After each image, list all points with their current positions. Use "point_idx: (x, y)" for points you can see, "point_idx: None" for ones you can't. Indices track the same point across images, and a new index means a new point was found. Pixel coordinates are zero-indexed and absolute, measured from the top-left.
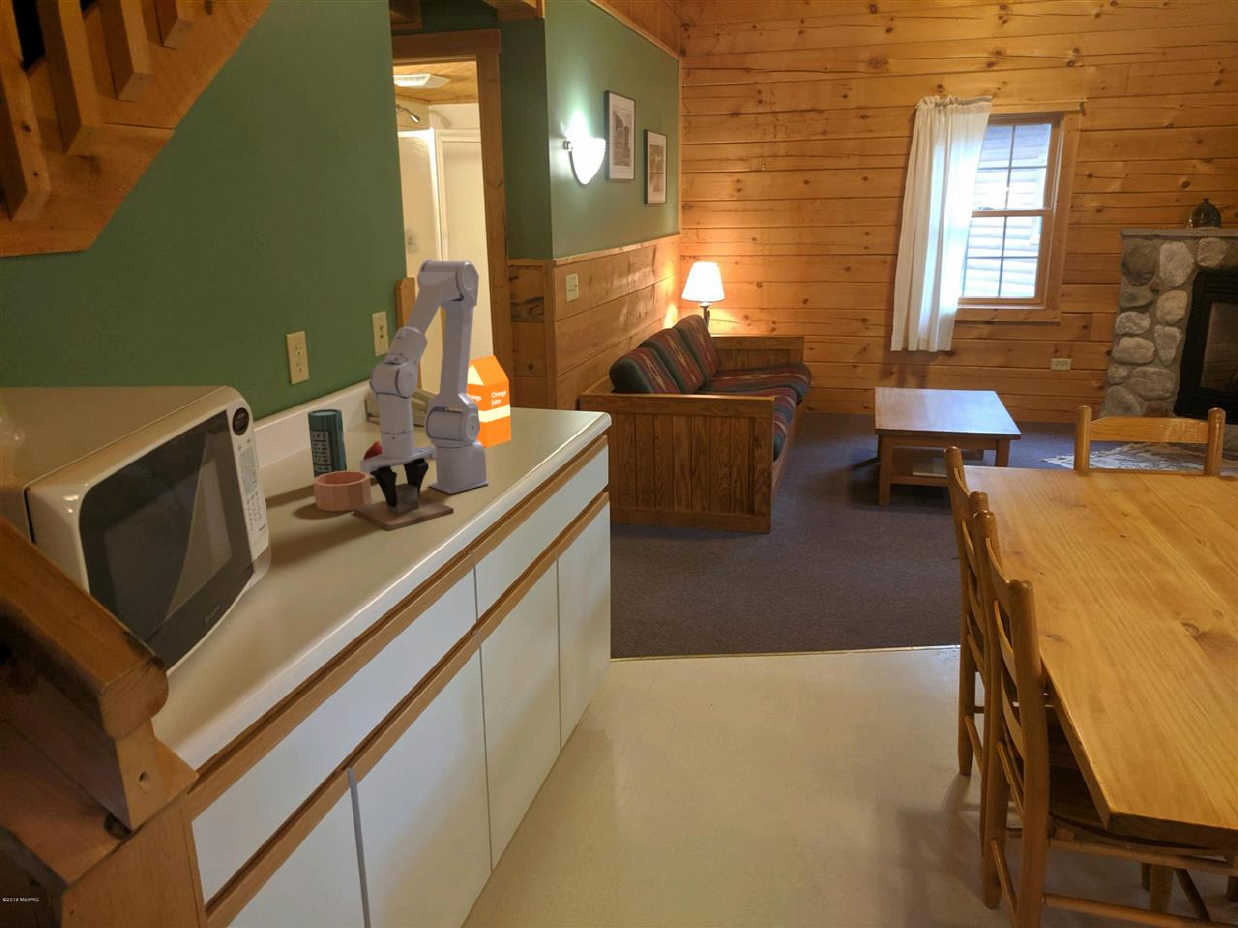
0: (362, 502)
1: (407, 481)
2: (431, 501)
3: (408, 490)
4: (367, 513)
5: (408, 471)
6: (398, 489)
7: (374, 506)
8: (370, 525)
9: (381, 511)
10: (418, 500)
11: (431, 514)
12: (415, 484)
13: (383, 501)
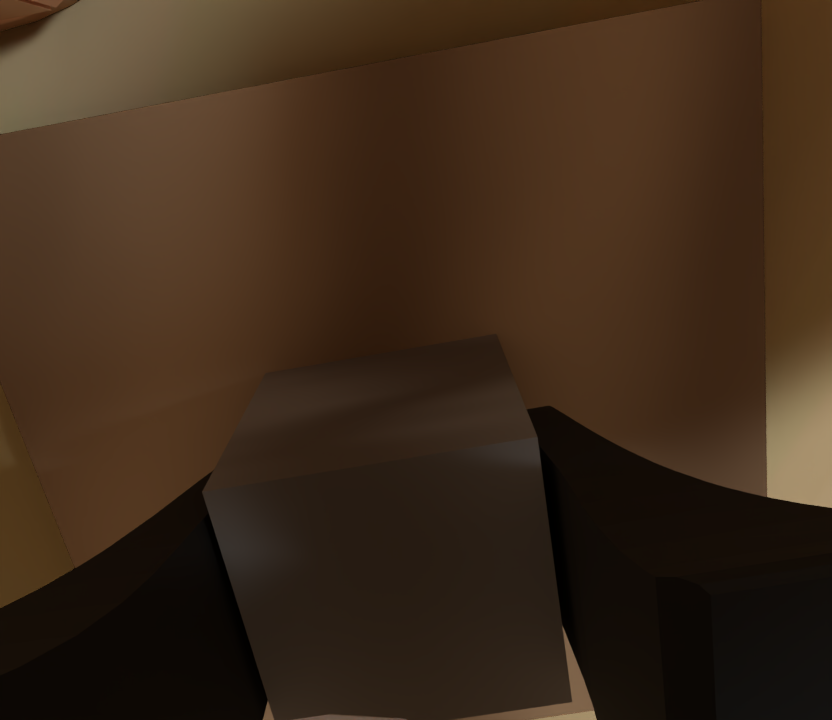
0: (34, 8)
1: (562, 481)
2: (730, 412)
3: (439, 714)
4: (35, 408)
5: (618, 658)
6: (329, 658)
7: (150, 225)
8: (48, 574)
9: (180, 427)
10: (643, 301)
11: (544, 717)
12: (587, 670)
13: (296, 90)
